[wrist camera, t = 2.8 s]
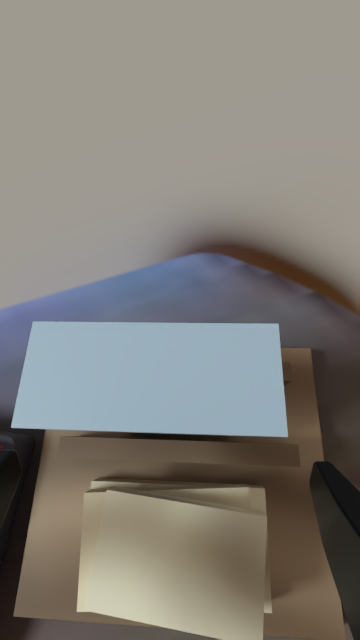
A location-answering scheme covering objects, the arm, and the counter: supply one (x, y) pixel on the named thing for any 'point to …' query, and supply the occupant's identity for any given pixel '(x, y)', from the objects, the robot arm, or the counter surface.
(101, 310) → the counter surface
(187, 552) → the offcut stack
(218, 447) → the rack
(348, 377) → the counter surface
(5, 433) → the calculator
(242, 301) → the counter surface
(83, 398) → the light blue brick
